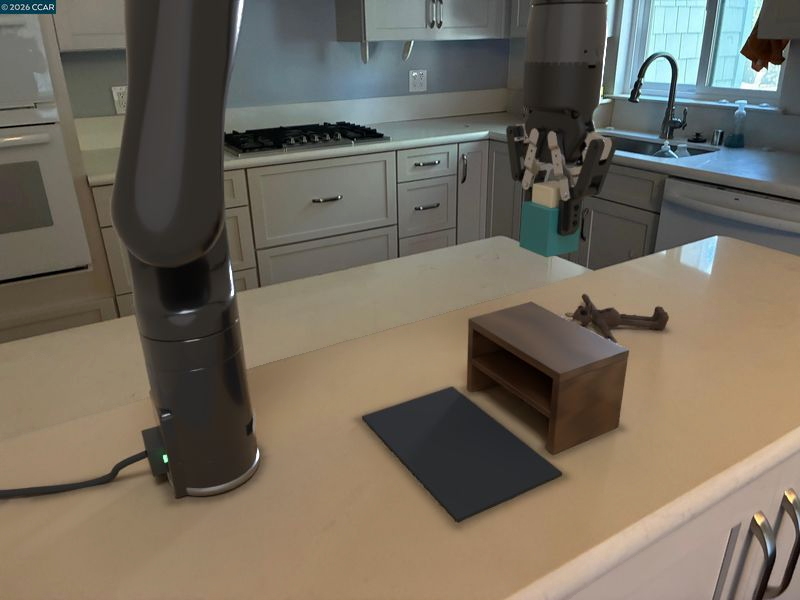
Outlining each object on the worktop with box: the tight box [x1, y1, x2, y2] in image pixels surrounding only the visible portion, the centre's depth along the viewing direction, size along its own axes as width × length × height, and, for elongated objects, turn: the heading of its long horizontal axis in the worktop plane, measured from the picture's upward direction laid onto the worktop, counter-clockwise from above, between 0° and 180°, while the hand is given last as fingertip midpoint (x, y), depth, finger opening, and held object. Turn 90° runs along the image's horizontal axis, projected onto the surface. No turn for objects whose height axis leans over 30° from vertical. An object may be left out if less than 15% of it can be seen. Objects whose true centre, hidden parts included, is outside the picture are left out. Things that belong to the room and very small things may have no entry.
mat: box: [361, 385, 563, 523], centre depth 68 cm, size 13×20×1 cm, turn 30°
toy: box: [519, 180, 583, 258], centre depth 65 cm, size 4×4×7 cm
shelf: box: [466, 301, 630, 456], centre depth 73 cm, size 10×16×10 cm, turn 30°
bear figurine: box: [564, 293, 670, 344], centre depth 94 cm, size 18×4×14 cm
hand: (549, 227), depth 66 cm, fingers closed on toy, 4 cm apart
